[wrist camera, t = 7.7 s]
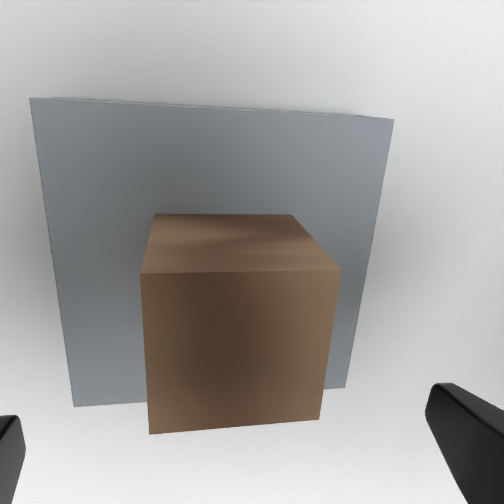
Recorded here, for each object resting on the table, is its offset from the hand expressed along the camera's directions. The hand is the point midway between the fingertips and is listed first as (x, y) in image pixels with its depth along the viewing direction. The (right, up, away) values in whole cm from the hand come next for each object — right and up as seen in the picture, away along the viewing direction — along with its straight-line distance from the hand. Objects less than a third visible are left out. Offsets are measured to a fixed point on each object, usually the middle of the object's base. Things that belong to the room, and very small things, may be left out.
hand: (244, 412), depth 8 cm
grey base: (-1, +4, +9) cm, 10 cm away
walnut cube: (-1, +3, +7) cm, 7 cm away
